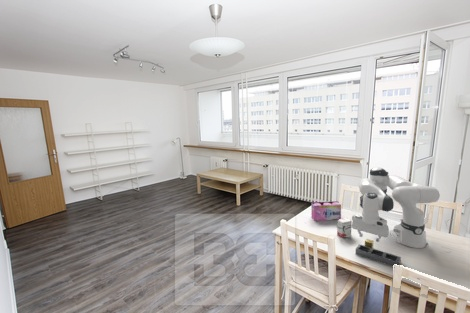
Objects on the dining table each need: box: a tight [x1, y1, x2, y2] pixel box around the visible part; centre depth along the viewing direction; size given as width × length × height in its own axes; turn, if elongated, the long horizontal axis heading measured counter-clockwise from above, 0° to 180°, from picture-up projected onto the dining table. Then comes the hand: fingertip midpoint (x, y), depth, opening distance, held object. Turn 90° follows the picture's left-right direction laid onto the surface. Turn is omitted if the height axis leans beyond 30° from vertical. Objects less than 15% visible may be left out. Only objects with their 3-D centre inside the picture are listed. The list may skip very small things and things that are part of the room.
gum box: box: [311, 200, 342, 221], centre depth 190 cm, size 24×8×14 cm, turn 88°
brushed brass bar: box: [364, 238, 375, 249], centre depth 143 cm, size 4×4×6 cm
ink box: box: [336, 217, 353, 238], centre depth 161 cm, size 9×5×12 cm, turn 106°
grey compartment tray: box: [355, 243, 402, 267], centre depth 134 cm, size 22×7×4 cm, turn 46°
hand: (369, 238), depth 142 cm, fingers open, 8 cm apart
